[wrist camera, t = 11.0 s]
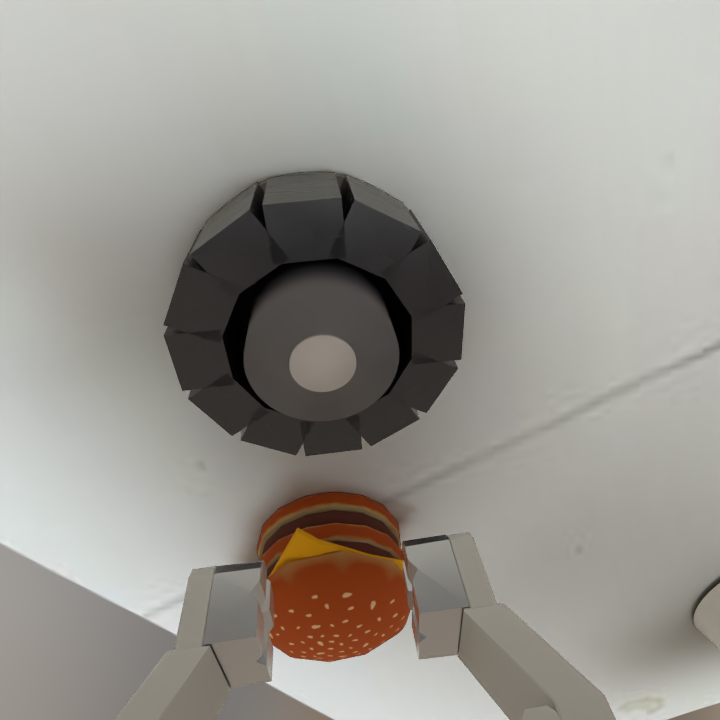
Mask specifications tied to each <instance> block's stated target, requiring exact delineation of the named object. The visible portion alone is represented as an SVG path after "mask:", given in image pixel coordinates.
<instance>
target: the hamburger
mask: <svg viewBox="0 0 720 720" xmlns="http://www.w3.org/2000/svg"><path fill="white" fill-rule="evenodd" d="M400 548H401V543H400V533H399V526H398V523H397V521H396V520H395V519H394V517H393V516H392V515H391V514H390V513H389V512H388V510H387V509H386V508H385V507H384V506H383V505H382V504H380V503H378V502H376V501H374V500H371V499H369V498H367V497H365V496H363V495H356V494H347V493H338V492H329V493H323V494H317V495H310V496H305V497H303V498H300V499H298V500H296V501H294V502H292V503H290V504H288V505H286V506H283V507H281V508H279V509H278V510H277V511H276V512H275V513H274V514H273V515H272V517H271V518H270V519H269V520H268V521H267V522H266V523H265V524H264V525H263V527H262V531H261V535H260V538H259V542H258V546H257V554H258V557H259V560H260V561H264V562H265V565H266V568H267V579H268V580H269V581H271V585H272V589H273V596H274V626H273V628H272V629H271V631H270V632H269V635H270V639H271V642H272V645H273V646H275V647H276V648H278V649H279V650H281V651H282V652H284V653H285V654H287V655H288V656H290V657H293V658H299V659H308V660H317V661H326V662H332V661H336V660H341V659H346V658H351V657H355V656H360V655H365V654H367V653H369V652H370V651H372V650H373V649H375V648H376V647H378V646H380V645H381V644H383V643H384V642H386V641H387V640H389V639H391V638H392V637H394V636H395V635H397V634H398V633H399V632H400V631H401V630H402V629H403V628H404V626H405V624H406V622H407V619H408V616H409V613H410V610H411V609H410V608H409V607H408V603H407V597H406V592H405V586H404V577H403V562H404V557H403V552H402V550H401V549H400Z"/></svg>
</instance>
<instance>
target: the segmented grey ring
mask: <svg viewBox="0 0 720 720" xmlns="http://www.w3.org/2000/svg"><path fill="white" fill-rule="evenodd" d="M335 258H338V259H340V260H343V261H345V262H347V263H350V264H352V265H354V266H357V267H359V268H361V269H364V270H366V271H368V272H371V273H373V274H374V275H375V277H376V279H377V281H378V284H379V287H380V290H381V293H382V296H383V299H384V302H385V304H386V307H387V310H388V313H389V316H390V319H391V322H392V325H393V328H394V331H395V334H396V337H397V341H398V345H399V364H398V368H397V372H396V375H395V377H394V379H393V381H392V383H391V385H390V386H389V388H388V389H387V390H386V392H385V393H384V394H383V395H382V396H381V397H380V398H379V399H378V400H377V401H376V402H375V403H373V404H372V405H371V406H369V407H368V408H366V409H365V410H363V411H361V412H359V413H357V414H354V415H352V416H349V417H346V418H342V419H338V420H332V421H307V420H301V419H297V418H293V417H290V416H287V415H284V414H282V413H280V412H278V411H276V410H275V409H273V408H272V407H270V406H269V405H267V404H266V403H265V402H264V401H263V400H262V399H261V398H260V397H259V396H258V395H257V394H256V393H255V391H254V390H253V388H252V387H251V385H250V383H249V381H248V379H247V376H246V373H245V368H244V349H245V343H246V337H247V331H248V325H249V319H250V313H251V307H252V301H253V295H254V289H255V286H256V283H257V281H258V280H259V279H261V278H262V277H264V276H265V275H267V274H268V273H269V272H271V271H272V270H274V269H275V268H277V267H278V266H279V265H281V264H284V263H294V262H304V261H315V260H325V259H335ZM461 294H463V293H462V292H461V290H460V288H459V287H458V285H457V283H456V282H455V280H454V278H453V277H452V275H451V273H450V272H449V270H448V268H447V267H446V265H445V263H444V262H443V260H442V258H441V257H440V255H439V253H438V252H437V250H436V248H435V247H434V245H433V243H432V242H431V240H430V238H429V237H428V235H427V234H426V232H425V231H424V229H423V228H422V226H421V225H420V223H419V222H418V220H417V219H416V217H415V216H414V214H413V213H412V211H411V210H409V211H408V210H407V208H406V207H405V205H404V204H403V202H401V201H399V200H397V199H395V198H393V197H391V196H390V195H388V194H387V193H385V192H383V191H382V190H380V189H378V188H377V187H375V186H373V185H371V184H368V183H366V182H363V181H361V180H359V179H356V178H352V177H350V176H348V175H345V176H344V175H341V174H335V172H332V173H326V172H299V173H293V174H287V175H282V176H278V177H275V178H268V180H265V181H263V182H261V183H259V184H258V183H256V184H254V185H253V186H252V187H250V188H248V189H246V190H245V191H243V192H242V193H240V194H239V195H237V196H236V197H234V198H233V199H232V200H231V201H229V202H228V203H227V204H226V205H225V206H224V207H223V208H222V209H220V210H219V212H218V213H216V214H215V215H214V216H212V217H211V218H210V219H209V220H207V221H206V223H205V225H204V227H203V229H202V230H200V232H199V234H198V236H197V238H196V240H195V242H194V244H193V246H192V247H191V249H190V251H189V253H188V255H187V257H186V259H185V261H184V263H183V266H182V269H181V272H180V275H179V278H178V281H177V285H176V288H175V291H174V294H173V297H172V300H171V303H170V306H169V310H168V313H167V316H166V319H165V322H164V325H165V326H168V327H167V329H166V332H165V334H164V338H165V340H166V343H167V346H168V349H169V352H170V355H171V358H172V361H173V364H174V367H175V370H176V373H177V376H178V379H179V382H180V385H181V388H182V391H184V390H191V391H190V394H189V398H188V399H189V400H190V401H191V402H193V403H194V404H195V405H196V406H197V407H198V408H200V409H201V410H202V411H203V412H204V413H206V414H207V415H208V416H209V417H210V418H211V419H213V420H214V421H215V422H216V423H217V424H219V425H220V426H221V427H222V428H223V429H224V430H226V431H227V432H228V433H229V434H230V435H234V434H236V433H237V432H239V431H241V430H242V435H241V441H245V442H249V443H252V444H256V445H260V446H264V447H267V448H271V449H275V450H278V451H282V452H286V453H289V454H293V455H296V454H297V452H298V451H299V449H300V447H301V445H302V444H303V443H304V449H305V455H306V456H309V455H318V454H326V453H334V452H342V451H350V450H359V449H362V444H361V436H362V437H363V438H364V439H365V440H366V441H367V442H368V443H369V444H370V445H371V446H372V445H374V444H376V443H378V442H379V441H381V440H383V439H385V438H387V437H388V436H390V435H392V434H394V433H395V432H397V431H399V430H401V429H403V428H404V427H406V426H408V425H410V424H412V423H413V422H415V421H417V420H419V416H418V413H417V410H420V411H423V412H426V413H427V411H428V410H429V409H430V407H431V406H432V404H433V403H434V402H435V400H436V399H437V397H438V396H439V394H440V393H441V392H442V390H443V389H444V387H445V386H446V384H447V383H448V382H449V380H450V379H451V377H452V376H453V374H454V373H455V372H456V370H457V369H458V367H457V365H456V363H455V361H454V360H460V359H461V355H462V341H463V326H464V312H465V303H464V301H463V299H462V298H461V296H460V295H461ZM416 409H417V410H416Z"/></svg>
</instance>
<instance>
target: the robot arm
mask: <svg viewBox="0 0 720 720" xmlns="http://www.w3.org/2000/svg"><path fill="white" fill-rule="evenodd" d="M402 552H403V557H404V562H403V577H404V586H405V592H406V597H407V603H408V607H409V608H410V609H411V610H412V628H413V633H414V638H415V643H416V648H417V652H418V657H419V659H426V658H434V657H443V656H451V655H458V657H459V658H460V660H461V661H462V662H463V663H464V665H465V666H466V667H467V668H468V669H469V671H470V672H471V673H472V674H473V676H474V677H475V678H476V679H477V680H478V682H479V683H480V684H481V685H482V687H483V688H484V689H485V690H486V691H487V693H488V694H489V695H490V696H491V698H492V699H493V700H494V701H495V702H496V704H497V705H498V706H499V707H500V708H501V710H502V711H503V712H504V713H505V715H506V716H507V717H508V718H509V719H510V720H616V719H615V717H614V714H613V712H612V710H611V708H610V706H609V704H608V702H607V700H606V697H605V695H604V694H603V693H602V692H601V691H599V690H598V689H597V688H596V687H595V686H594V685H593V684H592V683H591V682H590V681H588V680H587V679H586V678H585V677H584V676H583V675H582V674H581V673H580V672H579V671H578V670H576V669H575V668H574V667H573V666H572V665H571V664H570V663H569V662H568V661H567V660H565V659H564V658H563V657H562V656H561V655H560V654H559V653H558V652H557V651H556V650H554V649H553V648H552V647H551V646H550V645H549V644H548V643H547V642H546V641H545V640H543V639H542V638H541V637H540V636H539V635H538V634H537V633H536V632H535V631H534V630H533V629H531V628H530V627H529V626H528V625H527V624H526V623H525V622H524V621H523V620H522V619H520V618H519V617H518V616H517V615H516V614H515V613H514V612H513V611H512V610H511V609H509V608H508V607H507V606H506V605H505V604H504V603H501V604H497V603H496V600H495V597H494V594H493V592H492V589H491V586H490V583H489V581H488V578H487V575H486V572H485V569H484V567H483V564H482V561H481V558H480V555H479V553H478V550H477V547H476V544H475V542H474V539H473V537H472V535H471V534H470V533H469V532H465V533H459V534H452V535H441V536H434V537H428V538H421V539H415V540H408V541H403V543H402ZM694 624H695V626H696V628H697V629H698V630H699V631H700V632H701V633H702V634H704V635H705V636H706V637H707V638H708V639H709V640H710V641H711V642H712V643H713V644H714V645H716V646H717V647H718V648H719V649H720V583H719V584H718V585H717V586H715V587H714V588H713V589H712V590H711V591H710V592H709V593H708V594H707V595H706V596H705V597H704V598H703V600H702V601H701V602H700V604H699V605H698V607H697V609H696V611H695V614H694ZM273 626H274V596H273V589H272V585H271V581H269V580H268V579H267V568H266V565H265V562H264V561H256V562H248V563H240V564H232V565H224V566H213V567H206V568H199V569H193V570H192V572H191V574H190V576H189V579H188V584H187V589H186V594H185V599H184V603H183V608H182V613H181V618H180V623H179V628H178V633H177V638H176V643H175V648H174V650H172V651H167V652H166V653H165V654H164V656H163V657H162V658H161V660H160V661H159V663H158V664H157V665H156V666H155V668H154V669H153V670H152V671H151V673H150V674H149V675H148V677H147V678H146V679H145V681H144V682H143V683H142V685H141V686H140V687H139V688H138V690H137V691H136V692H135V694H134V695H133V696H132V698H131V699H130V700H129V702H128V703H127V704H126V706H125V707H124V708H123V710H122V711H121V712H120V713H119V715H118V716H117V717H116V719H115V720H216V718H217V716H218V715H219V713H220V711H221V709H222V707H223V705H224V704H225V702H226V700H227V698H228V696H229V694H230V692H231V690H230V688H235V687H242V686H247V685H253V684H258V683H264V682H270V681H272V662H273V645H272V642H271V639H270V635H269V632H270V631H271V629H272V628H273Z"/></svg>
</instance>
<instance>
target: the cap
mask: <svg viewBox="0 0 720 720" xmlns="http://www.w3.org/2000/svg"><path fill="white" fill-rule="evenodd" d="M398 364H399V345H398V341H397V337H396V334H395V331H394V328H393V325H392V322H391V319H390V316H389V313H388V310H387V307H386V304H385V302H384V299H383V296H382V293H381V290H380V287H379V284H378V281H377V279H376V277H375V275H374V274H373V273H371V272H368V271H366V270H364V269H361V268H359V267H357V266H354V265H352V264H350V263H347V262H345V261H343V260H340V259H338V258H335V259H325V260H315V261H304V262H294V263H284V264H281V265H279V266H278V267H277V268H275V269H274V270H272V271H271V272H269V273H268V274H267V275H265V276H264V277H262V278H261V279H259V280H258V281H257V283H256V286H255V289H254V295H253V301H252V307H251V313H250V319H249V325H248V331H247V337H246V343H245V349H244V368H245V373H246V376H247V379H248V381H249V383H250V385H251V387H252V388H253V390H254V391H255V393H256V394H257V395H258V396H259V397H260V398H261V399H262V400H263V401H264V402H265V403H266V404H267V405H269V406H270V407H272V408H273V409H275V410H276V411H278V412H280V413H282V414H284V415H287V416H290V417H293V418H297V419H301V420H307V421H332V420H338V419H342V418H346V417H349V416H352V415H354V414H357V413H359V412H361V411H363V410H365V409H366V408H368V407H369V406H371V405H372V404H373V403H375V402H376V401H377V400H378V399H379V398H380V397H381V396H382V395H383V394H384V393H385V392H386V390H387V389H388V388H389V386H390V385H391V383H392V381H393V379H394V377H395V375H396V372H397V368H398Z"/></svg>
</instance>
